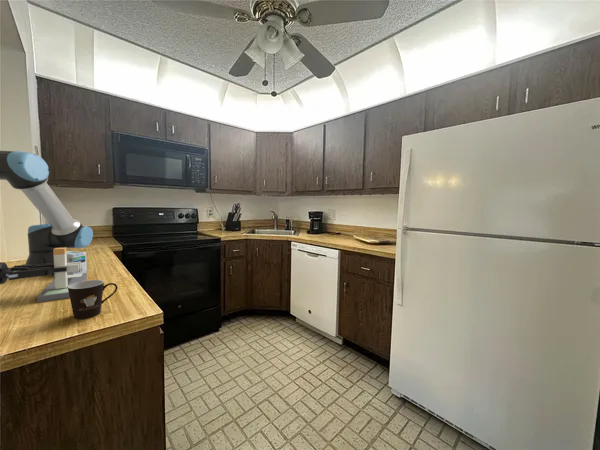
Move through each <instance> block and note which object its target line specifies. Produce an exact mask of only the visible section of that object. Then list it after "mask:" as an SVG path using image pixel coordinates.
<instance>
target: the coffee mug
mask: <svg viewBox="0 0 600 450" xmlns="http://www.w3.org/2000/svg"><path fill="white" fill-rule="evenodd" d="M108 286H114V287H115V289H114V291H113V292H112V293H111V294H109V295H107V296H106V297H105V298H104V299H103V293H104V291H105V289H106V288H107V287H108ZM117 291H118V285H117V284H116V283H114V282H110V283H109V282H108V283H107V284H105V281H104V280H102V279H89V280H86V281H81V282H77V283H73V284H71V285H69V286H68V292H69V296H70V298H69V300H70V301H69V302H70V305H71V310H72V314H73V315H72V316H73V319H75V320H86V319H91V318H95V317H97V316H99V315H100V314H101V312H102V304H103V303H105V302H106V301H107V300H108V299H109V298H111V297H112V296H113V295H114V294H115V293H116V292H117Z"/></svg>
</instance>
